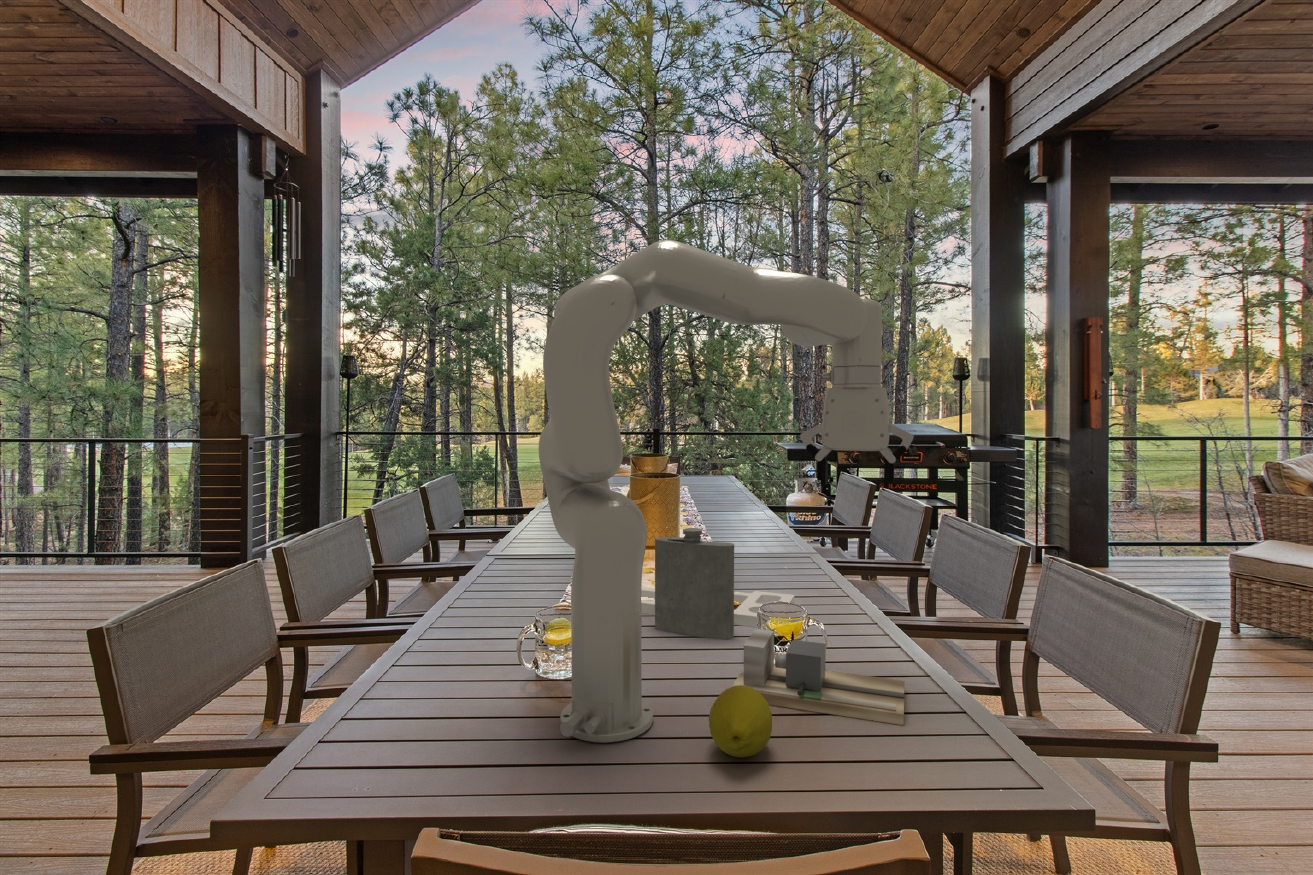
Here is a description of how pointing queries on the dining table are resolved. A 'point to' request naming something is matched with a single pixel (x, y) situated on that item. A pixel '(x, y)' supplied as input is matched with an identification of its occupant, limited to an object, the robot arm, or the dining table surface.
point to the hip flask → (694, 586)
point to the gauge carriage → (803, 665)
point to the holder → (748, 601)
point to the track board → (837, 692)
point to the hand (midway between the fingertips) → (855, 486)
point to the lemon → (740, 721)
